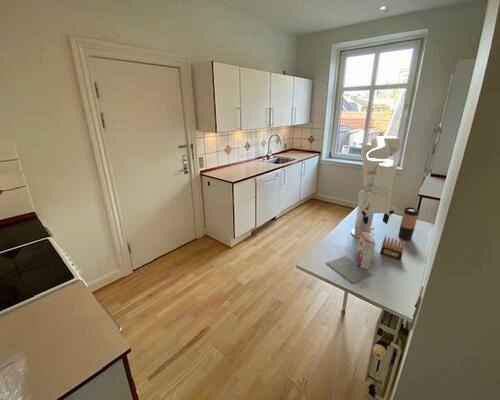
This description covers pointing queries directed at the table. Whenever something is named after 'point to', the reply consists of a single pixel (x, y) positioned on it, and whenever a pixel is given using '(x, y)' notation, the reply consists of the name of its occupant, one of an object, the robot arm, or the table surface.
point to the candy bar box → (365, 250)
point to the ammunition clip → (392, 249)
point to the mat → (349, 269)
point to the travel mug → (408, 223)
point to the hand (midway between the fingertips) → (374, 222)
